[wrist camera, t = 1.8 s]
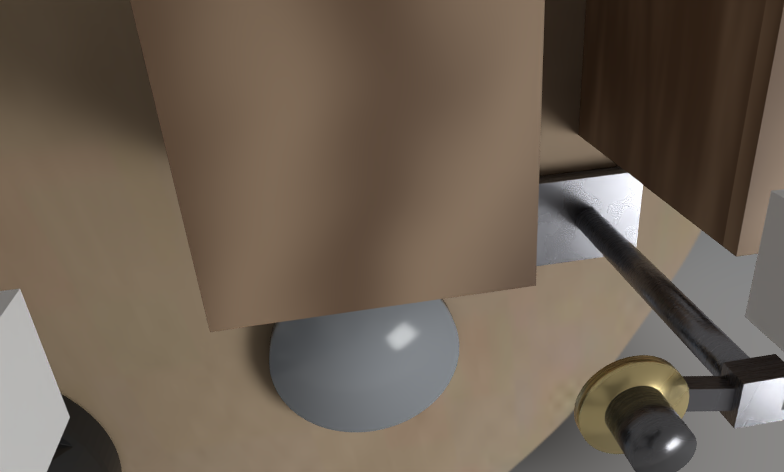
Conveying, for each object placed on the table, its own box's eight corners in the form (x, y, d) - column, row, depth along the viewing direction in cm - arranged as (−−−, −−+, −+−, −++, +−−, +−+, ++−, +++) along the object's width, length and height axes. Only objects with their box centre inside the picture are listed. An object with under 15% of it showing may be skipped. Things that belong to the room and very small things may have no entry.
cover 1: (236, 175, 33) (209, 331, 21) (191, -57, 28) (122, -30, 16) (445, 150, 34) (535, 285, 22) (437, -78, 29) (546, -67, 17)
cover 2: (578, 134, 35) (736, 256, 23) (591, -92, 30) (801, -90, 18) (767, 112, 36) (1015, 216, 24) (810, -111, 31) (1148, -121, 19)
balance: (469, 266, 38) (599, 517, 22) (467, 185, 35) (610, 402, 20) (683, 236, 39) (948, 454, 23) (695, 156, 37) (997, 339, 21)
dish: (284, 431, 41) (284, 445, 40) (254, 280, 36) (254, 291, 35) (457, 403, 42) (461, 416, 41) (451, 253, 37) (456, 263, 36)
